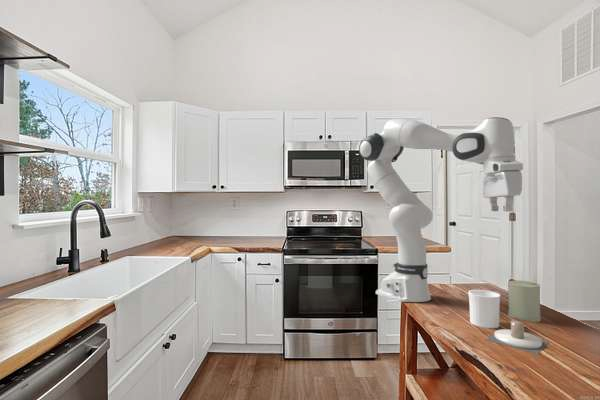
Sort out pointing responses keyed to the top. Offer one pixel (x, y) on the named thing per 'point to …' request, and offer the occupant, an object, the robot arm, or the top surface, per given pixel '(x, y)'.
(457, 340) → the top surface
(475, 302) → the mug
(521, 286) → the can
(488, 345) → the top surface
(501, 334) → the lid
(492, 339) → the mat
